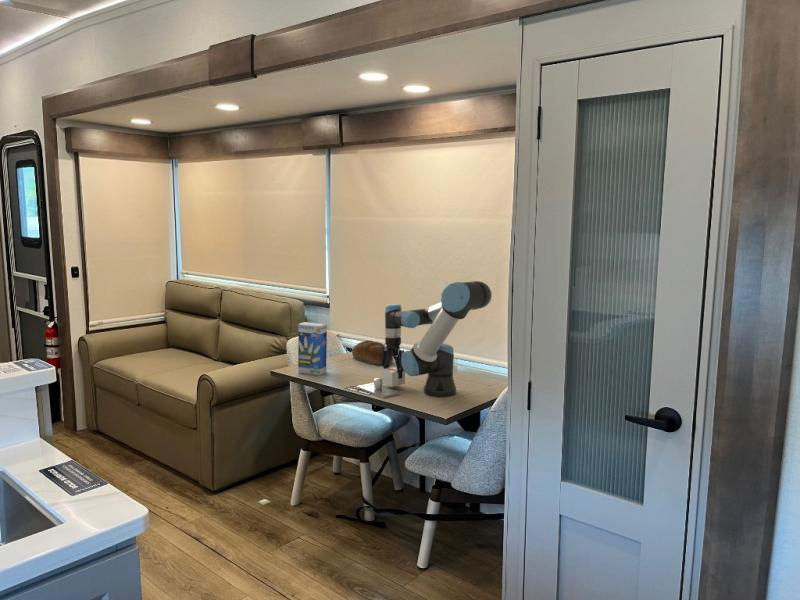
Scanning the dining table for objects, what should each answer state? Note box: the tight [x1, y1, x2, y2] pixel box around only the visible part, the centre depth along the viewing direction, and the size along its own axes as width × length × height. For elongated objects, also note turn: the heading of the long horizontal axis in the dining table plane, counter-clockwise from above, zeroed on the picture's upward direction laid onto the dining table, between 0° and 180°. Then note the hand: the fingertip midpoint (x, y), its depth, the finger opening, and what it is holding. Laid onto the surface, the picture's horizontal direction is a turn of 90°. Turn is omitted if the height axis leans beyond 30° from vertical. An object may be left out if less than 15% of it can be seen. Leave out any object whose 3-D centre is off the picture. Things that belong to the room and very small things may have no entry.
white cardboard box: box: [380, 366, 406, 388], centre depth 288 cm, size 8×8×7 cm
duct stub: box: [356, 377, 401, 399], centre depth 281 cm, size 20×10×6 cm, turn 41°
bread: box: [351, 339, 394, 366], centre depth 340 cm, size 16×29×11 cm, turn 42°
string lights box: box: [297, 321, 328, 376], centre depth 311 cm, size 13×8×26 cm, turn 69°
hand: (393, 383), depth 288 cm, fingers closed on white cardboard box, 8 cm apart
